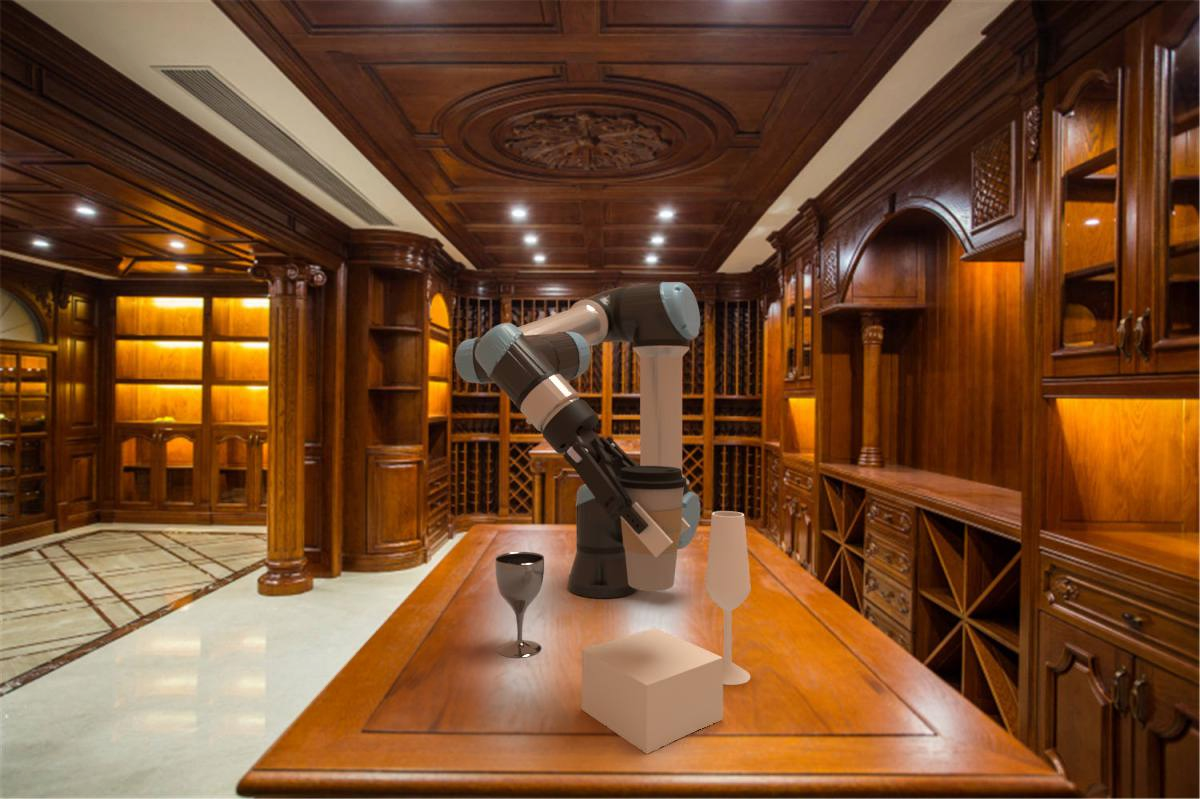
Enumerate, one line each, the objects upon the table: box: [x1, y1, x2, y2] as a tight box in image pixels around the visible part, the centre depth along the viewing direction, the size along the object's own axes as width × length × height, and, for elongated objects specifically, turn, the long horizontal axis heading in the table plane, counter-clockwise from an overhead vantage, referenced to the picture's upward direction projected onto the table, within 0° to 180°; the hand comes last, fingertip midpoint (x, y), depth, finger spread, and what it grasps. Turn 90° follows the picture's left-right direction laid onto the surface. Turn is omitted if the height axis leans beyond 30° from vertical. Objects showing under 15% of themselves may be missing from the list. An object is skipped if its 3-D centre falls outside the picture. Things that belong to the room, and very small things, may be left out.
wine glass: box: [494, 551, 545, 659], centre depth 103 cm, size 8×8×15 cm
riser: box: [581, 627, 724, 755], centre depth 82 cm, size 13×13×8 cm
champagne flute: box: [704, 510, 752, 686], centre depth 94 cm, size 7×7×24 cm
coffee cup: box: [617, 465, 687, 592], centre depth 82 cm, size 9×9×15 cm
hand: (674, 541), depth 81 cm, fingers closed on coffee cup, 9 cm apart
